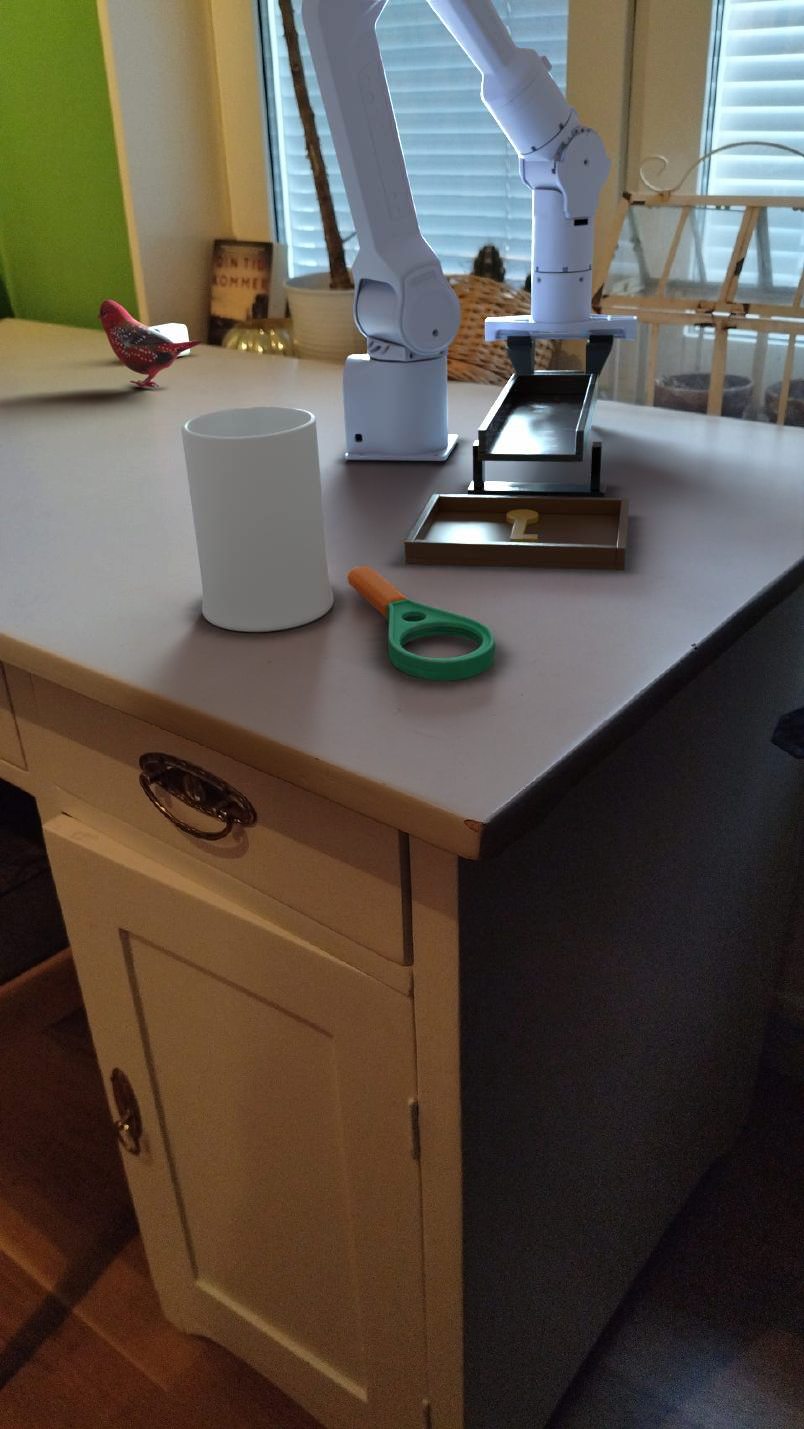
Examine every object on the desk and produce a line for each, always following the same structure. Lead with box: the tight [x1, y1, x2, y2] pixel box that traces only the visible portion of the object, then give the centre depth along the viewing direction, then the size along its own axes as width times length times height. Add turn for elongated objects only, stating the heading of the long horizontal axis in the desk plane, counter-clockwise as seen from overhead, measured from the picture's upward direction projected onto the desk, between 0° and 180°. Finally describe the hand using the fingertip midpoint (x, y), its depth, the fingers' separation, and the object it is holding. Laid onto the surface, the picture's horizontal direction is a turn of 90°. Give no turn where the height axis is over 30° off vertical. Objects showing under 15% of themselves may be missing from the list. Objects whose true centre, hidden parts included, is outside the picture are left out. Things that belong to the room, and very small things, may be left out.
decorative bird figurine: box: [97, 299, 203, 388], centre depth 132 cm, size 3×18×10 cm, turn 54°
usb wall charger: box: [149, 322, 191, 358], centre depth 151 cm, size 4×7×4 cm, turn 136°
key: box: [507, 509, 538, 543], centre depth 82 cm, size 3×7×1 cm, turn 170°
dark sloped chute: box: [477, 370, 599, 463], centre depth 97 cm, size 8×30×2 cm, turn 168°
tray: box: [404, 493, 630, 571], centre depth 81 cm, size 15×11×2 cm
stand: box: [467, 440, 607, 498], centre depth 90 cm, size 11×2×4 cm, turn 79°
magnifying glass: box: [347, 565, 496, 682], centre depth 67 cm, size 15×6×2 cm, turn 25°
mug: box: [180, 406, 335, 633], centre depth 70 cm, size 12×8×12 cm
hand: (558, 414), depth 111 cm, fingers closed on dark sloped chute, 5 cm apart
